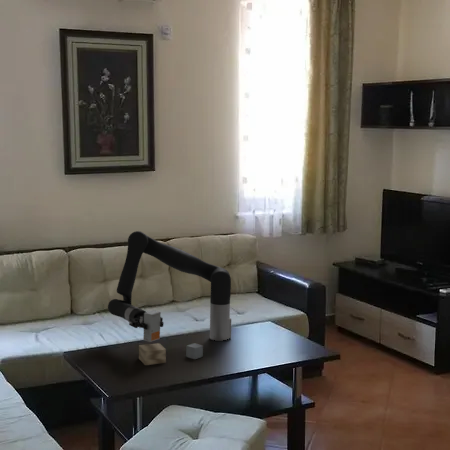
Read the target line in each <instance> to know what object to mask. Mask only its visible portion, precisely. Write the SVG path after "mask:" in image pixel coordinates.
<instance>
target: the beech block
mask: <svg viewBox="0 0 450 450" xmlns="http://www.w3.org/2000/svg"><path fill="white" fill-rule="evenodd" d="M166 357H167V348H165V347H164V346H163V345H162V344H161V343H160V342H157V343H149V344H148V343H147V344H139V345H138V360H139V361H141V362H142V364H143V365H144V366H150V365H151V366H152V365H157V364H166V363H167V359H166Z"/></svg>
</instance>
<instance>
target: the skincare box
mask: <svg viewBox="0 0 450 450" xmlns="http://www.w3.org/2000/svg"><path fill="white" fill-rule="evenodd" d="M161 313H162V312H161V311H157V310H154V309H153V310H149V311H146V313H144V323H146V324H147V325H148V328H147V329H146V330H145V329H143V341H144V342H148V343H152V342H155V341H157V340H158V341H159V340H160V339H161V327H160V317H162V316H161Z"/></svg>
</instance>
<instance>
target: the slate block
mask: <svg viewBox="0 0 450 450" xmlns="http://www.w3.org/2000/svg"><path fill="white" fill-rule="evenodd" d="M203 349H204V345H202V344H198V343H195V342H193V343H191V344H190V343H189V344H188V345H186V349H185V351H186V356H185V357H186V358H189V359H193V360H196V359H200V358H202V357H204V354H203V353H204V350H203Z"/></svg>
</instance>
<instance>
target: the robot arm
mask: <svg viewBox="0 0 450 450" xmlns="http://www.w3.org/2000/svg"><path fill="white" fill-rule="evenodd" d="M126 250H127V253H126V257H125V262H124V265H123V267H122V269H121V270H122V271H121V273H120V276H119V280H118V284H117V287H116V293H117V294H119V295H120V296H122V298H123V299H117V298H112V299H111V300H109V302H108V305H107V310H108V312H109V313H110V314H111V315H113V316H116V317H118V318H119V317H120V318H122V319H124V320H125V321H127V322H128V325H129V326H130V327H132V328H134V329H138V328H139V329H141V328H142V329H143V330H144V329H145V330H146V329H147V328H148V325H147V324H146V323H144V313H146V312H147V311H146V310H144V309H142V308H141V307H140V308H139V307H138V306H135V305H132V299H133V298H132V295H133V294H132V293H133V290H134V286H135V282H136V280H137V279H136V278H137V273H138V268H139V263H140V261H141V258H142V257H143V255H144V254H146V255H149V256H151V257H153V258H155V259H157V261H160V262H162V263H163V264H164V265H166V266H169V267H170V268H172V269H175V270H177V271H179V272H181V273H186V274H189V275H194V276H197V277H200V278H203V279H205V280H206V281H208V282H209V283H210V297H209V299H210V302H209V304H210V306H209V307H210V310H209V339H210V340H211V341H214V340H215V341H214V342H224V341H223V340H226V341H228V340H229V338H230V339H232V318H230V317H231V313H230V311H231V291H232V290H231V289H232V287H231V286H232V278H231V274H230V273H229V271H228V270H227V269H225V267H222V266H218V265H215V264H212V263H208V262H206V261H204V260H202V259H201V258H199V257H197V256H195V255H193V254H191V253H189V252H187V251H185V250H182V249H181V248H179V247H176V246H172V245H170V244H166V243H163V242H160V241H158V240H156V239H154V238H152V237H150V235H147V234H146V233H144V232H143V231H139V230H138V231H137V230H136V231H133V232H132V233H130V234H129V236H128V238H127V249H126ZM163 320H164V319H163V317H162V316H160V328H163V327H164V323H165V322H164V321H163ZM227 339H228V340H227Z"/></svg>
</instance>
